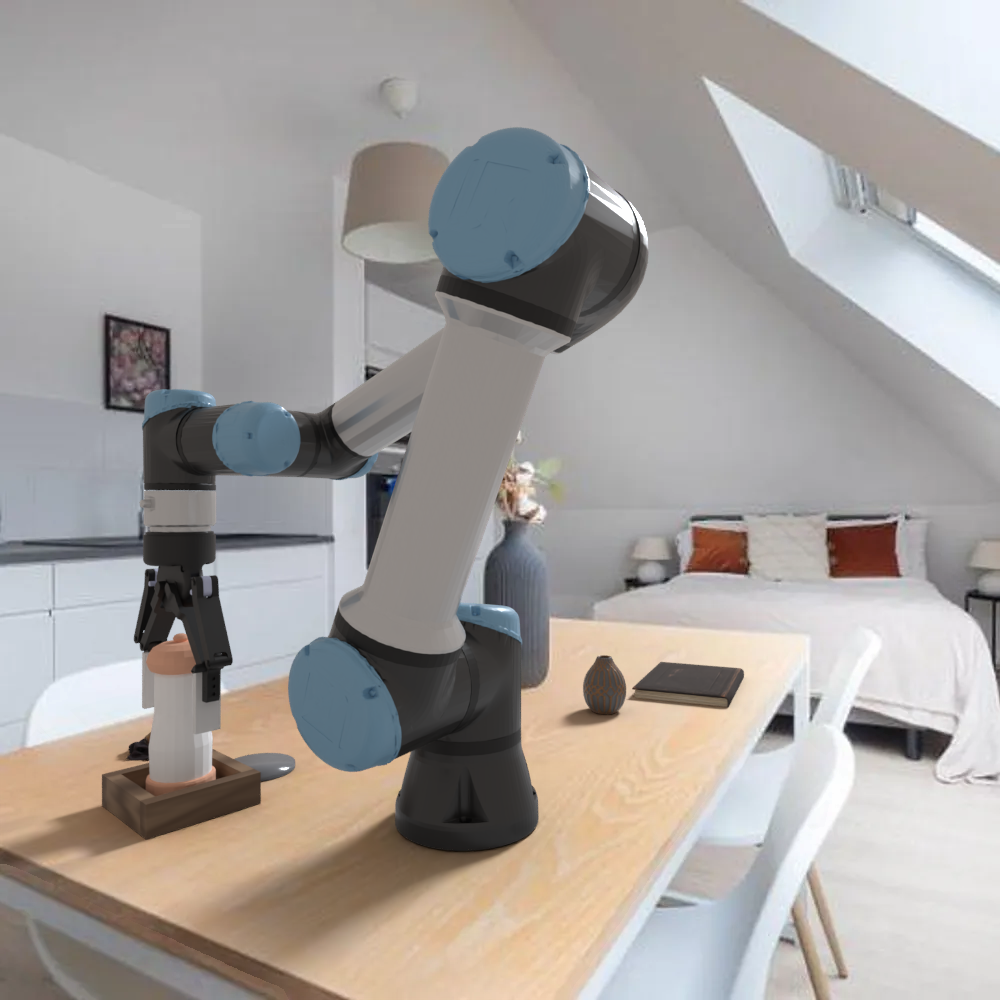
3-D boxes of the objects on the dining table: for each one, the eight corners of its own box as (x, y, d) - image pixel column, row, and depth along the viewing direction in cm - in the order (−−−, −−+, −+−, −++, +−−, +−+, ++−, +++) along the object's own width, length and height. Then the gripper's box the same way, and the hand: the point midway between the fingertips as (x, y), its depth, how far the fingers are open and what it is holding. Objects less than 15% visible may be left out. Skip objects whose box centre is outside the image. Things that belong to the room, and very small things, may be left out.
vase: (634, 710, 121) (634, 656, 121) (610, 719, 116) (609, 663, 116) (599, 703, 126) (599, 650, 126) (574, 711, 121) (574, 657, 121)
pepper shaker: (137, 820, 80) (136, 640, 80) (155, 794, 87) (154, 629, 87) (209, 814, 81) (208, 638, 82) (221, 789, 89) (220, 627, 89)
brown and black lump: (151, 741, 109) (150, 715, 109) (209, 739, 110) (209, 714, 110) (116, 765, 99) (116, 737, 99) (181, 764, 99) (181, 736, 99)
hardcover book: (632, 700, 129) (632, 687, 129) (660, 673, 150) (660, 661, 150) (728, 710, 123) (728, 696, 123) (744, 680, 144) (744, 668, 144)
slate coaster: (308, 768, 95) (308, 763, 95) (242, 788, 89) (242, 783, 89) (272, 752, 102) (272, 748, 102) (207, 770, 95) (207, 765, 95)
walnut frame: (260, 803, 84) (260, 772, 84) (146, 839, 75) (145, 804, 75) (210, 775, 93) (210, 747, 93) (101, 805, 84) (101, 774, 84)
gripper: (104, 526, 90) (104, 703, 90) (196, 534, 73) (195, 752, 73) (167, 525, 96) (167, 691, 96) (266, 532, 79) (266, 734, 79)
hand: (179, 718), depth 84 cm, fingers open, 13 cm apart
